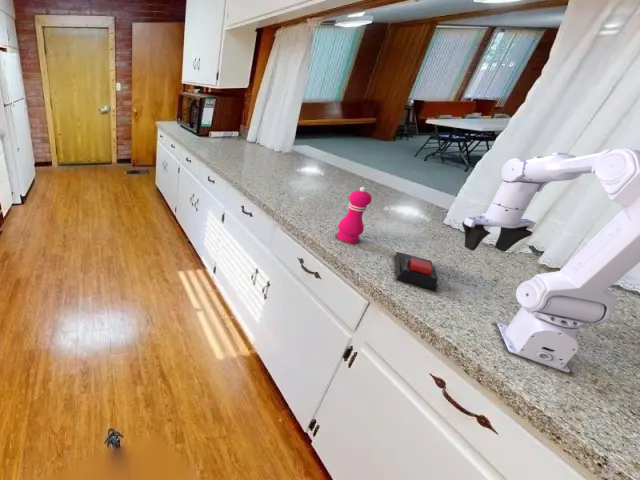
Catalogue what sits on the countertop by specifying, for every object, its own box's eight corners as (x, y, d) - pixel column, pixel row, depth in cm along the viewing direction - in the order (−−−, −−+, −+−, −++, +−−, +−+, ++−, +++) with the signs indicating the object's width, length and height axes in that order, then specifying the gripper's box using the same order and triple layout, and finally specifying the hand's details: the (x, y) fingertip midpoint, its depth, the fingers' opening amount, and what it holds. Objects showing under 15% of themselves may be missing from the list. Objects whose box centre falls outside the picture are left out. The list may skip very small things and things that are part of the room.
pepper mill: (333, 238, 105) (348, 187, 97) (337, 231, 110) (352, 181, 102) (357, 246, 100) (376, 193, 92) (361, 237, 105) (378, 186, 97)
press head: (429, 275, 81) (432, 269, 80) (409, 270, 83) (412, 264, 82) (427, 268, 84) (430, 262, 83) (408, 263, 86) (411, 257, 85)
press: (434, 291, 80) (440, 280, 78) (396, 280, 85) (401, 268, 83) (428, 266, 90) (434, 255, 88) (394, 256, 95) (399, 246, 93)
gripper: (523, 199, 78) (498, 242, 84) (462, 197, 80) (442, 240, 85) (555, 211, 72) (526, 256, 77) (489, 209, 73) (465, 254, 79)
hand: (484, 249), depth 81 cm, fingers open, 7 cm apart
